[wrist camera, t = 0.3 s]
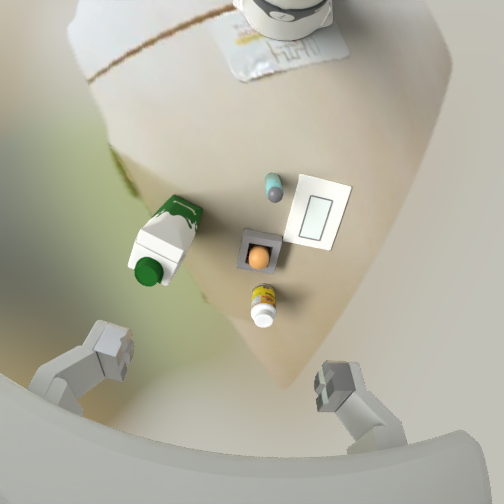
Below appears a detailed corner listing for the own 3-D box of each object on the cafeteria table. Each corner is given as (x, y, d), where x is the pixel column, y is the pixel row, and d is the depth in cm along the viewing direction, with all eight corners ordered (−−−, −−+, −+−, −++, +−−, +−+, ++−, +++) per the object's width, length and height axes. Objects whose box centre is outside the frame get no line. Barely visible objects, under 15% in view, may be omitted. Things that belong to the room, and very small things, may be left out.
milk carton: (156, 223, 58) (118, 274, 40) (171, 188, 54) (132, 229, 36) (191, 241, 60) (166, 298, 42) (209, 206, 56) (186, 256, 38)
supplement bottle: (279, 294, 66) (282, 323, 57) (260, 304, 68) (260, 333, 59) (266, 278, 64) (267, 307, 55) (247, 290, 66) (245, 319, 57)
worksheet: (300, 173, 52) (300, 173, 51) (351, 186, 53) (351, 187, 52) (282, 240, 59) (282, 241, 59) (329, 249, 60) (330, 250, 59)
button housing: (244, 228, 58) (243, 234, 55) (281, 235, 59) (282, 242, 56) (237, 260, 62) (236, 267, 59) (272, 266, 63) (273, 274, 60)
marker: (266, 171, 52) (268, 185, 43) (280, 174, 52) (285, 189, 43) (263, 185, 53) (264, 202, 44) (277, 187, 53) (281, 205, 45)
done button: (251, 242, 57) (250, 250, 55) (270, 246, 58) (270, 254, 55) (247, 259, 59) (247, 267, 56) (266, 262, 60) (266, 271, 57)
